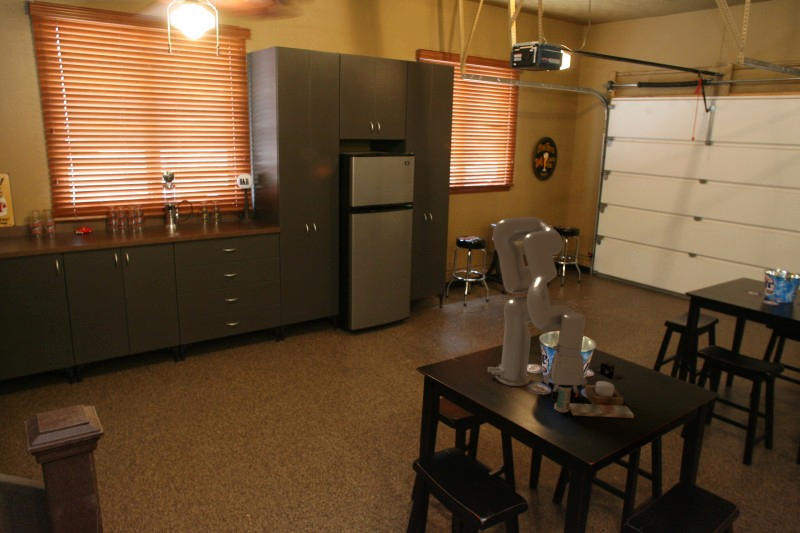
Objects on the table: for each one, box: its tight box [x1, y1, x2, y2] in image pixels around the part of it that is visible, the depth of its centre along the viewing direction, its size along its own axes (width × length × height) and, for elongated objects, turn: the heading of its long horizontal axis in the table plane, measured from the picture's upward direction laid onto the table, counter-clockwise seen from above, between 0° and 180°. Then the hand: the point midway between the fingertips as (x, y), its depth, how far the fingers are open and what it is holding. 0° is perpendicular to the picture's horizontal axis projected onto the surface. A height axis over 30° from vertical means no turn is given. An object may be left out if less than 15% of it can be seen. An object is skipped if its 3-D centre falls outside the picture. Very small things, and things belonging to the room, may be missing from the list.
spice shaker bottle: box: [553, 385, 572, 414], centre depth 194 cm, size 5×5×12 cm
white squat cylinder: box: [595, 380, 615, 397], centre depth 204 cm, size 6×6×5 cm
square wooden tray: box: [583, 384, 625, 406], centre depth 204 cm, size 10×10×3 cm
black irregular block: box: [592, 361, 622, 381], centre depth 226 cm, size 12×7×5 cm, turn 34°
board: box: [569, 402, 635, 419], centre depth 195 cm, size 20×6×1 cm, turn 90°
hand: (562, 400), depth 195 cm, fingers closed on spice shaker bottle, 4 cm apart
